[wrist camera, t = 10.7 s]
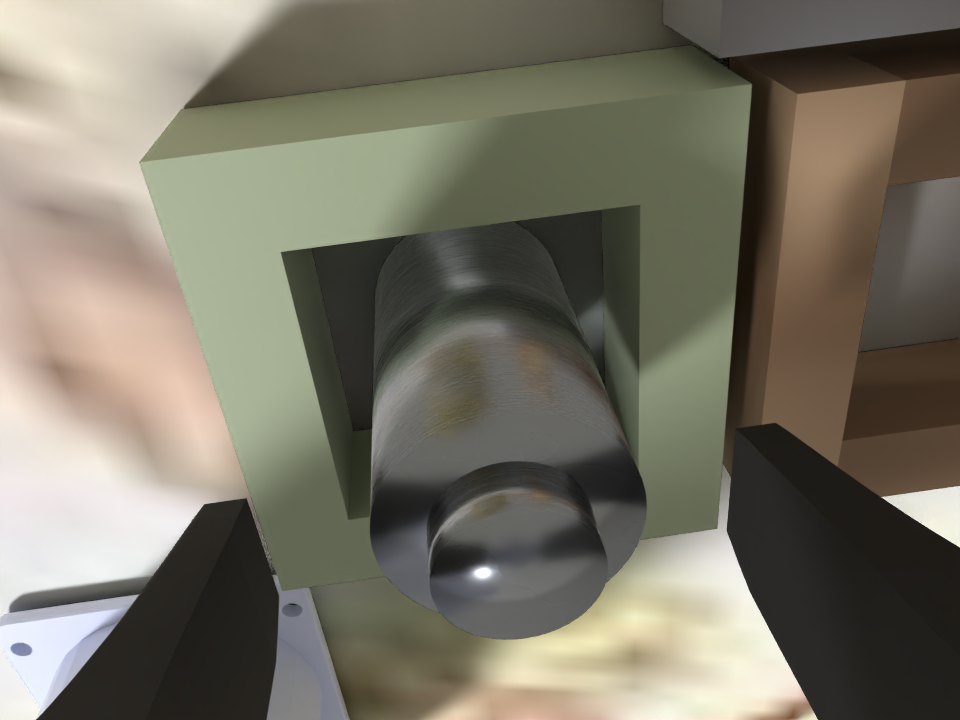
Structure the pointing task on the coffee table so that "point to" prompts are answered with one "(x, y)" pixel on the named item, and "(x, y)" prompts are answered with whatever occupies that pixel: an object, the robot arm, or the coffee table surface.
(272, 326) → the frame
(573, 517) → the steel pin
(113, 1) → the coffee table surface
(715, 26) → the button housing
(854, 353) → the socket block
